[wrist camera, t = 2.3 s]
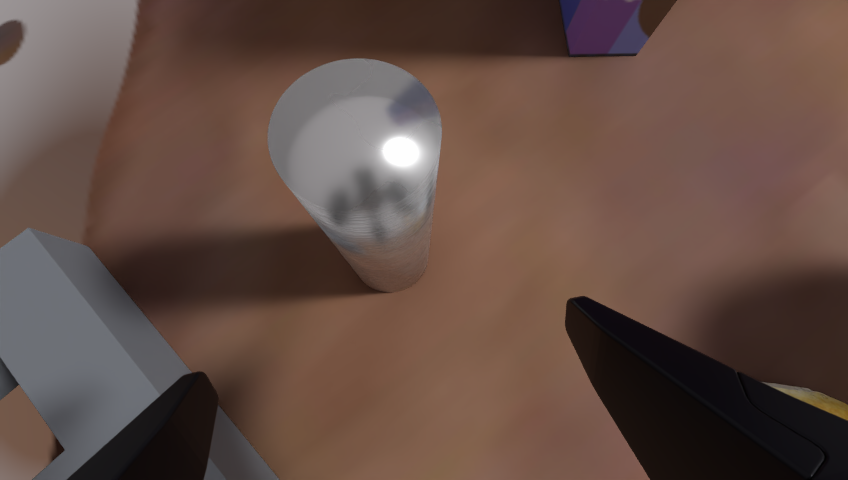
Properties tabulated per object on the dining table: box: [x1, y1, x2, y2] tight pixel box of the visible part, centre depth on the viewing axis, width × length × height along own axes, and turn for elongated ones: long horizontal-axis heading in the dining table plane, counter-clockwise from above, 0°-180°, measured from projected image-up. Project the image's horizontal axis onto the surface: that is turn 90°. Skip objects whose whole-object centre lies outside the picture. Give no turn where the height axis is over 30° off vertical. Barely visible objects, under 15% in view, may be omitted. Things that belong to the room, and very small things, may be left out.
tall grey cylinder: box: [268, 58, 442, 292], centre depth 16 cm, size 4×4×13 cm
